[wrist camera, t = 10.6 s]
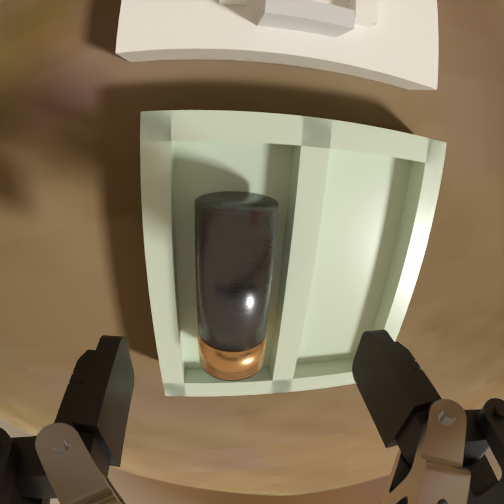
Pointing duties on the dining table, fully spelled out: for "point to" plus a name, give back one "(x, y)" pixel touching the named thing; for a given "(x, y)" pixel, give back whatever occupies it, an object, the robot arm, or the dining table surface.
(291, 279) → the tray
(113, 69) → the dining table surface
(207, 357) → the cell
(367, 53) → the white battery holder
